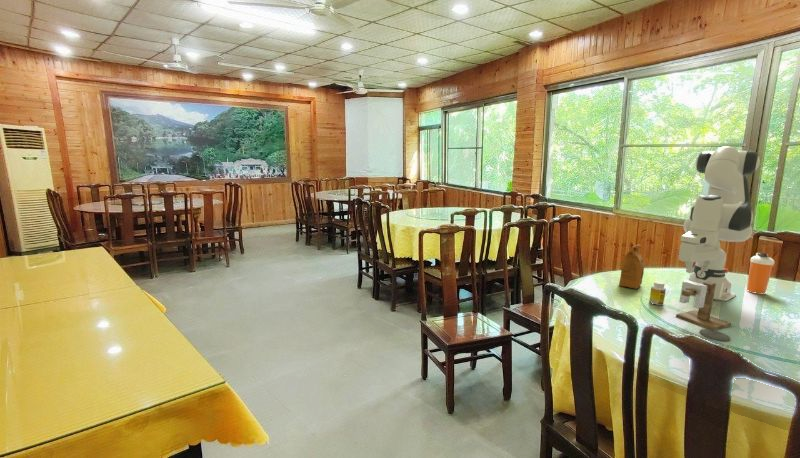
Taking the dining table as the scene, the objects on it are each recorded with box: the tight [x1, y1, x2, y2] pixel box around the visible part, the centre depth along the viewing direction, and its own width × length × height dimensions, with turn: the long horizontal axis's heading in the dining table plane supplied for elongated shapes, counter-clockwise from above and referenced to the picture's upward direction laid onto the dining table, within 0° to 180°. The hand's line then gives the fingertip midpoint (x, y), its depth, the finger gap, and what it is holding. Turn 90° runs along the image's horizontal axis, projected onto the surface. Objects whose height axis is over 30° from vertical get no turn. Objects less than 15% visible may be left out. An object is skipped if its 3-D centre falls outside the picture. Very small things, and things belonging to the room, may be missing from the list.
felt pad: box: [698, 328, 731, 342], centre depth 146 cm, size 9×9×1 cm
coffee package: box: [618, 243, 645, 289], centre depth 201 cm, size 10×12×22 cm
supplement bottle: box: [648, 280, 667, 306], centre depth 177 cm, size 6×6×10 cm
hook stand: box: [675, 282, 732, 331], centre depth 156 cm, size 22×14×16 cm, turn 114°
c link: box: [678, 279, 707, 309], centre depth 153 cm, size 4×7×9 cm, turn 24°
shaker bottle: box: [746, 252, 775, 294], centre depth 197 cm, size 9×9×20 cm
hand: (696, 271), depth 152 cm, fingers open, 8 cm apart
